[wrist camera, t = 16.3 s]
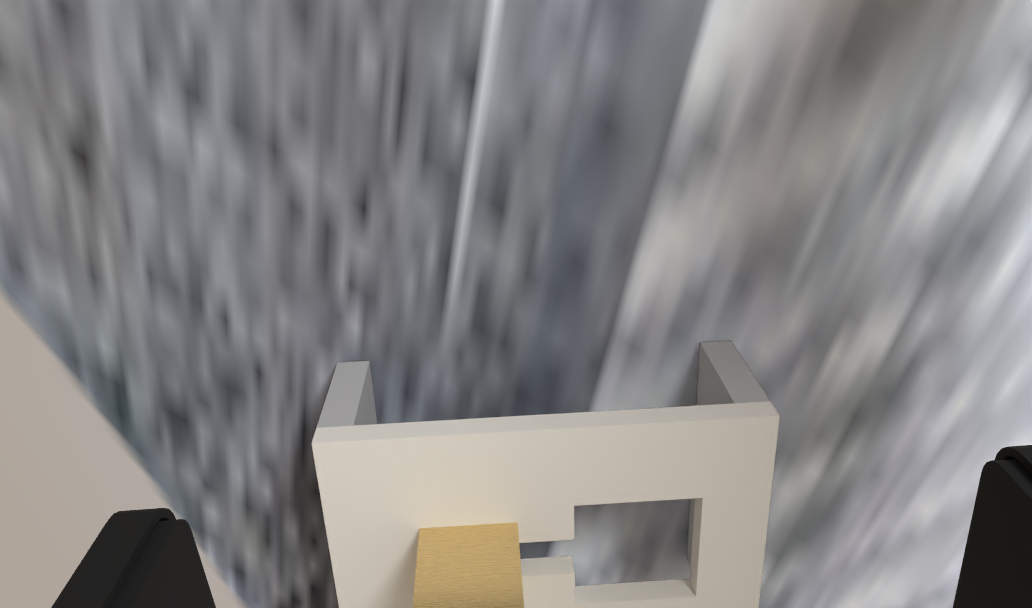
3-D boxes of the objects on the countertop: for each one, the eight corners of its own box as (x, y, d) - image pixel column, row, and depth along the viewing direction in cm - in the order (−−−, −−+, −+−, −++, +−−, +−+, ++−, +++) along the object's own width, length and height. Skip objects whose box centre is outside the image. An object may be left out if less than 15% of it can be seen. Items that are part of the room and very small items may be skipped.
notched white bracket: (731, 340, 41) (779, 415, 35) (714, 555, 47) (753, 655, 41) (337, 362, 41) (311, 443, 34) (368, 577, 47) (351, 682, 40)
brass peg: (513, 470, 40) (527, 645, 30) (516, 541, 42) (530, 728, 32) (424, 476, 40) (408, 653, 30) (431, 546, 42) (418, 735, 32)
